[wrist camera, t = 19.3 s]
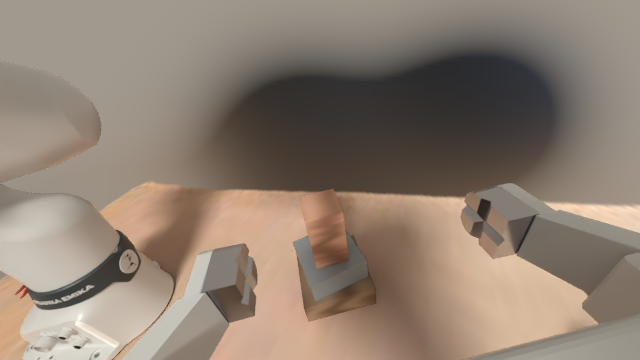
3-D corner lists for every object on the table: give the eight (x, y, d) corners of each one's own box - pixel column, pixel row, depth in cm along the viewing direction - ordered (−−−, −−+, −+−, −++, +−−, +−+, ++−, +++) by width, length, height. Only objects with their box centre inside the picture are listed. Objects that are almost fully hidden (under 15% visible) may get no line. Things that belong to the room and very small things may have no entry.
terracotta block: (316, 269, 35) (304, 220, 30) (310, 244, 39) (299, 197, 34) (348, 260, 36) (343, 210, 30) (339, 236, 40) (332, 188, 34)
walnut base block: (309, 323, 37) (304, 308, 35) (300, 265, 46) (296, 250, 44) (376, 304, 38) (375, 288, 36) (354, 250, 47) (353, 235, 45)
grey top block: (315, 301, 35) (310, 286, 33) (297, 257, 42) (293, 242, 40) (368, 276, 37) (367, 260, 35) (342, 237, 45) (340, 222, 42)
